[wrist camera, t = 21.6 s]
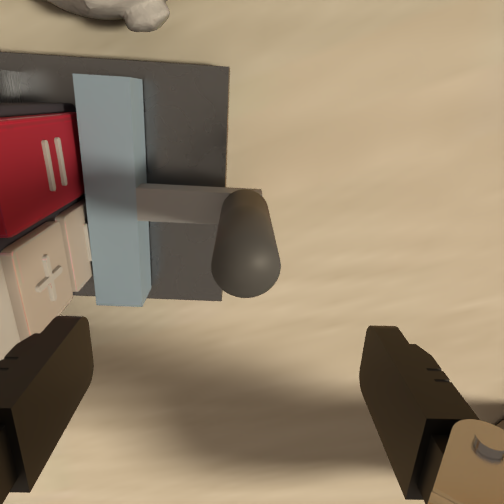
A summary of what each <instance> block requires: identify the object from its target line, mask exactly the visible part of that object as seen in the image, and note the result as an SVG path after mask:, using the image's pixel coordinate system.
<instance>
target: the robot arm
mask: <svg viewBox="0 0 504 504" xmlns="http://www.w3.org/2000/svg"><path fill="white" fill-rule="evenodd" d="M93 367H94V365H93V355H92V347H91V338H90V330H89V323H88V320H87V318H86V317H78V316H56V317H55V318H54V319H53V320H52V321H51V322H50V323H49V324H48V325H47V326H46V328H45V329H44V330H43V331H42V332H41V333H34V334H32V335H31V336H29V337H27V338H26V339H24V340H22V341H21V342H19V343H17V344H16V345H15V346H14V347H13V348H12V349H11V350H10V351H9V352H8V353H7V354H6V355H5V356H4V359H2V360H1V361H0V504H3V502H4V500H5V499H6V497H7V495H8V494H9V492H29V493H30V492H31V490H32V488H33V486H34V484H35V483H36V481H37V479H38V477H39V475H40V474H41V472H42V470H43V468H44V466H45V465H46V463H47V461H48V459H49V457H50V456H51V454H52V452H53V450H54V448H55V447H56V445H57V443H58V441H59V439H60V438H61V436H62V434H63V432H64V430H65V429H66V427H67V425H68V423H69V421H70V420H71V418H72V416H73V414H74V412H75V410H76V409H77V407H78V405H79V403H80V401H81V400H82V398H83V396H84V394H85V392H86V391H87V389H88V387H89V385H90V383H91V380H92V375H93ZM359 380H360V387H361V392H362V394H363V397H364V399H365V402H366V404H367V407H368V409H369V411H370V414H371V416H372V419H373V421H374V424H375V426H376V429H377V431H378V434H379V436H380V438H381V441H382V443H383V446H384V448H385V451H386V453H387V456H388V458H389V460H390V463H391V465H392V468H393V470H394V473H395V475H396V478H397V480H398V482H399V485H400V487H401V490H402V492H403V495H404V497H405V499H414V500H424V501H425V504H504V420H503V421H501V422H500V423H499V424H497V425H496V426H495V425H493V424H490V423H488V422H484V421H481V420H479V418H478V417H477V416H476V414H475V413H474V412H473V410H472V409H471V408H470V406H469V405H468V404H467V402H466V401H465V400H464V398H463V397H462V396H461V394H460V393H459V392H458V390H457V389H456V388H455V386H454V385H453V384H452V382H449V378H448V377H447V376H446V374H445V373H444V372H443V371H441V368H440V366H439V365H438V364H437V362H436V361H435V360H434V358H433V357H432V356H431V355H430V354H429V353H427V352H426V351H424V350H423V349H422V348H420V347H419V346H418V345H416V344H409V343H408V341H407V340H406V338H405V337H404V336H403V334H402V333H401V331H400V330H399V328H398V327H396V326H369V327H368V329H367V331H366V337H365V342H364V348H363V354H362V360H361V366H360V373H359Z"/></svg>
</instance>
